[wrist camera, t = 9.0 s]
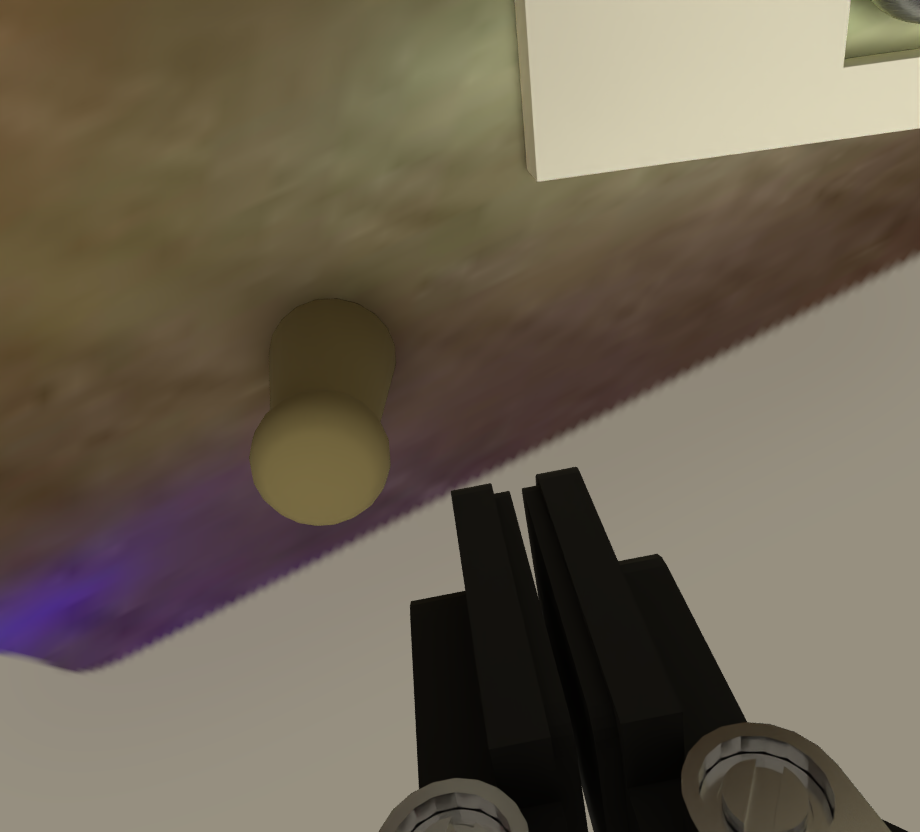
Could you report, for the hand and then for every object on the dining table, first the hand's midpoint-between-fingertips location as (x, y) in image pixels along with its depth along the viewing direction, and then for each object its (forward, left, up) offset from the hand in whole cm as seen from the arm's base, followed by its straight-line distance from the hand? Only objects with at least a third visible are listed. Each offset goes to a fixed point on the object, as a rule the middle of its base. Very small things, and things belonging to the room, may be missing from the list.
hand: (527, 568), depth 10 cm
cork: (+8, -6, -27) cm, 28 cm away
